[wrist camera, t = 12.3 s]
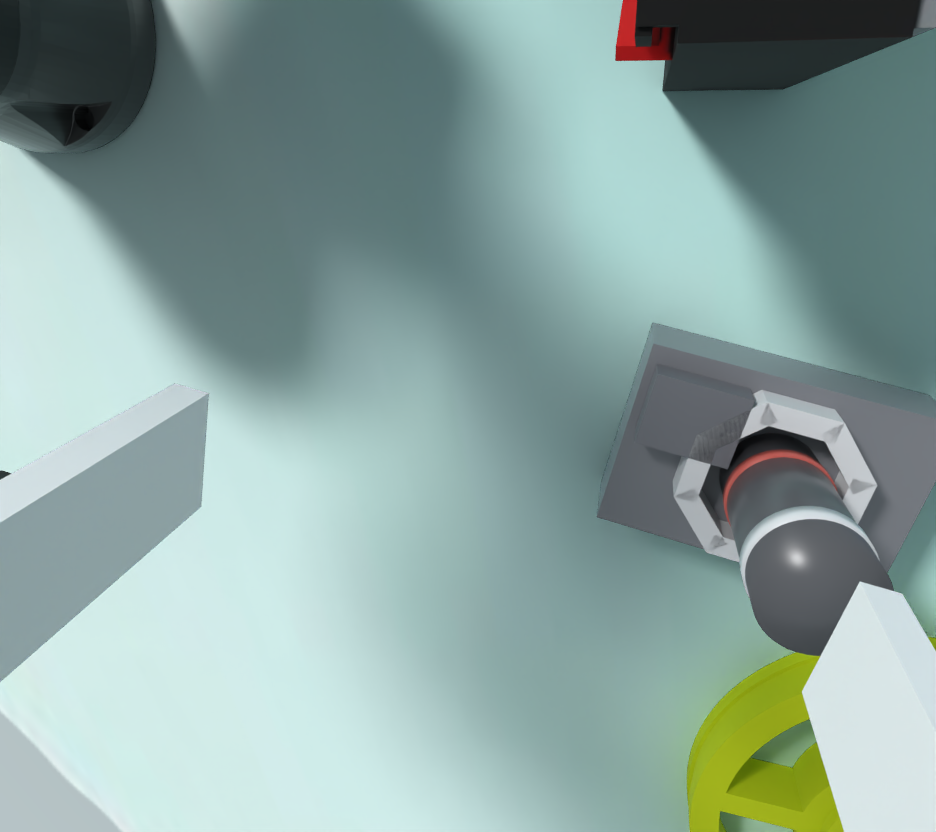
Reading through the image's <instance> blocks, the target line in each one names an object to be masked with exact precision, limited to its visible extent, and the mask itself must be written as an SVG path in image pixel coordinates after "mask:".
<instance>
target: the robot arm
mask: <svg viewBox="0 0 936 832" xmlns="http://www.w3.org/2000/svg"><path fill="white" fill-rule="evenodd" d="M154 61H155V26H154V17H153V12H152V6H151V2H150V0H0V141H2V142H5V143H7V144H10V145H12V146H15V147H18V148H21V149H25V150H30V151H34V152H42V153H78V152H85V151H89V150H93V149H96V148H99V147H101V146H103V145H105V144H107V143H109V142H110V141H112V140H113V139H115V138H116V137H117V136H119V135H120V134H121V133H122V132H123V131H124V130H125V129H126V128H127V127H128V126H129V125H130V123H131V122H132V121H133V119H134V118H135V117H136V115H137V113H138V112H139V110H140V108H141V106H142V104H143V102H144V100H145V98H146V95H147V92H148V89H149V86H150V83H151V79H152V74H153V69H154ZM208 397H209V393H206V392H203V391H199V390H196V389H192V388H189V387H186V386H182V385H179V384H175V383H174V384H173V385H171V386H169V387H167V388H165V389H164V390H162V391H160V392H158V393H156V394H155V395H153V396H151V397H149V398H147V399H146V400H144V401H142V402H140V403H138V404H136V405H135V406H133V407H131V408H129V409H127V410H126V411H124V412H122V413H120V414H118V415H117V416H115V417H113V418H111V419H109V420H108V421H106V422H104V423H102V424H100V425H98V426H97V427H95V428H93V429H91V430H89V431H88V432H86V433H84V434H82V435H80V436H79V437H77V438H75V439H73V440H71V441H70V442H68V443H66V444H64V445H62V446H61V447H59V448H57V449H55V450H53V451H51V452H50V453H48V454H46V455H44V456H42V457H41V458H39V459H37V460H35V461H33V462H32V463H30V464H28V465H26V466H24V467H23V468H21V469H19V470H17V471H15V472H13V473H8V472H5V471H0V682H1V681H2V680H3V679H4V678H5V677H6V676H8V675H9V674H10V673H11V672H12V671H13V670H14V669H16V668H17V667H18V666H19V665H20V664H21V663H23V662H24V661H25V660H26V659H27V658H28V657H29V656H31V655H32V654H33V653H34V652H35V651H36V650H37V649H39V648H40V647H41V646H42V645H43V644H44V643H45V642H47V641H48V640H49V639H50V638H51V637H52V636H53V635H55V634H56V633H57V632H58V631H59V630H60V629H61V628H63V627H64V626H65V625H66V624H67V623H68V622H69V621H71V620H72V619H73V618H74V617H75V616H76V615H78V614H79V613H80V612H81V611H82V610H83V609H84V608H86V607H87V606H88V605H89V604H90V603H91V602H92V601H94V600H95V599H96V598H97V597H98V596H99V595H100V594H102V593H103V592H104V591H105V590H106V589H107V588H108V587H110V586H111V585H112V584H113V583H114V582H115V581H116V580H118V579H119V578H120V577H121V576H122V575H123V574H124V573H126V572H127V571H128V570H129V569H130V568H131V567H133V566H134V565H135V564H136V563H137V562H138V561H139V560H141V559H142V558H143V557H144V556H145V555H146V554H147V553H149V552H150V551H151V550H152V549H153V548H154V547H155V546H157V545H158V544H159V543H160V542H161V541H162V540H163V539H165V538H166V537H167V536H168V535H169V534H170V533H171V532H173V531H174V530H175V529H176V528H177V527H178V526H179V525H181V524H182V523H183V522H184V521H185V520H186V519H188V518H189V517H190V516H191V515H192V514H193V513H194V512H196V511H197V510H198V509H199V508H200V507H201V501H202V487H203V472H204V457H205V442H206V427H207V412H208ZM802 694H803V698H804V701H805V704H806V708H807V711H808V714H809V718H810V721H811V724H812V727H813V731H814V734H815V737H816V741H817V744H818V747H819V751H820V754H821V757H822V761H823V764H824V767H825V770H826V774H827V777H828V780H829V784H830V787H831V790H832V794H833V797H834V800H835V804H836V807H837V810H838V813H839V817H840V820H841V823H842V827H843V830H844V832H936V651H935V649H934V647H933V646H932V644H931V642H930V640H929V639H928V637H927V635H926V634H925V632H924V630H923V628H922V627H921V625H920V623H919V622H918V620H917V618H916V616H915V615H914V613H913V611H912V610H911V608H910V606H909V604H908V603H907V601H906V599H905V598H904V596H903V594H902V593H898V592H895V591H891V590H888V589H884V588H881V587H877V586H874V585H870V584H867V583H864V582H859V584H858V586H857V588H856V590H855V591H854V593H853V595H852V597H851V599H850V601H849V603H848V605H847V607H846V609H845V610H844V612H843V614H842V616H841V618H840V620H839V622H838V624H837V626H836V628H835V630H834V631H833V633H832V635H831V637H830V639H829V641H828V643H827V645H826V647H825V649H824V650H823V652H822V654H821V656H820V658H819V660H818V662H817V664H816V666H815V668H814V669H813V671H812V673H811V675H810V677H809V679H808V681H807V683H806V685H805V687H804V689H803V690H802Z"/></svg>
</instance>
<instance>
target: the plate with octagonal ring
mask: <svg viewBox="0 0 936 832" xmlns="http://www.w3.org/2000/svg"><path fill="white" fill-rule="evenodd" d="M765 433H779V434H785V435H788V436H791V437H794V438H796V439H798V440H800V441H801V442H803V443H804V444H805V445H807V446H808V447H809V448H810V449H811V450H812V452H813V453H814V455H815V456H816V458H817V459H818V461H819V463H820V464H821V465H822V466H823V467H824V468H825V469H826V471H827V472H828V474H829V475H830V477H831V478H832V480H833V481H834V484H835V486H836V488H837V491H838V494H839V496H840V497H841V499H842V500H843V502H844V504H845V505H846V507H847V509H848V510H849V512H850V514H851V515H852V517H853V518H854V520H855V522H856V523H857V524H858V525H859V526H860V527H861V528H862V529H863V531H864V532H865V534H866V535H867V537H868V538H869V540H870V541H871V543H872V545H873V546H874V548H875V550H876V552H877V554H878V557H879V560H880V563H881V564H882V566H883V568H884V569H885V571H886V573H887V572H888V571H889V569H890V567H891V565H892V563H893V561H894V559H895V557H896V556H897V554H898V552H899V550H900V548H901V546H902V544H903V542H904V540H905V539H906V537H907V535H908V533H909V531H910V529H911V527H912V525H913V524H914V522H915V520H916V518H917V516H918V514H919V512H920V510H921V508H922V507H923V505H924V503H925V501H926V499H927V497H928V495H929V493H930V492H931V490H932V488H933V486H934V484H935V482H936V401H935V400H934V399H933V398H932V397H931V396H930V395H927V394H923V393H919V392H915V391H911V390H908V389H904V388H900V387H896V386H892V385H889V384H885V383H881V382H877V381H873V380H869V379H866V378H862V377H858V376H854V375H850V374H847V373H843V372H839V371H835V370H831V369H828V368H824V367H820V366H816V365H812V364H809V363H805V362H801V361H797V360H793V359H790V358H786V357H782V356H778V355H774V354H770V353H767V352H763V351H759V350H755V349H751V348H748V347H744V346H740V345H736V344H732V343H729V342H725V341H721V340H717V339H713V338H710V337H706V336H702V335H698V334H694V333H691V332H687V331H683V330H679V329H675V328H672V327H668V326H664V325H660V324H656V323H652V326H651V329H650V332H649V335H648V338H647V342H646V345H645V348H644V351H643V354H642V357H641V360H640V363H639V366H638V369H637V372H636V376H635V379H634V382H633V385H632V388H631V391H630V394H629V397H628V400H627V403H626V407H625V410H624V413H623V416H622V419H621V422H620V425H619V428H618V431H617V434H616V438H615V441H614V444H613V447H612V450H611V453H610V456H609V459H608V462H607V465H606V469H605V472H604V475H603V478H602V481H601V488H600V496H599V503H598V511H597V517H599V518H602V519H605V520H609V521H612V522H615V523H619V524H622V525H625V526H628V527H632V528H635V529H638V530H642V531H645V532H648V533H652V534H655V535H658V536H662V537H665V538H668V539H672V540H675V541H678V542H682V543H685V544H688V545H691V546H695V547H698V548H701V549H705V551H706V552H707V553H709V554H713V555H716V556H719V557H723V558H726V559H729V560H733V561H736V562H739V555H738V551H737V548H736V544H735V540H734V536H733V533H732V529H731V526H730V524H729V522H728V520H727V517H726V514H725V510H724V505H723V495H722V491H721V487H720V482H719V475H720V469H721V468H725V469H728V467H729V465H730V462H731V460H732V457H733V455H734V452H735V450H736V447H737V445H738V444H739V443H740V442H741V441H743V440H745V439H747V438H749V437H752V436H755V435H759V434H765Z"/></svg>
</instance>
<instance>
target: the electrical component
mask: <svg viewBox="0 0 936 832" xmlns="http://www.w3.org/2000/svg"><path fill="white" fill-rule="evenodd" d="M933 28H936V0H623V3H622V10H621V17H620V23H619V30H618V37H617V44H616V59H615V61H638V60H665V69H664V80H663V91H703V90H769V89H785V88H788V87H790V86H793V85H795V84H798V83H800V82H802V81H805V80H807V79H810V78H812V77H815V76H817V75H820V74H822V73H825V72H827V71H830V70H832V69H834V68H837V67H839V66H842V65H844V64H847V63H849V62H852V61H854V60H857V59H859V58H862V57H864V56H867V55H869V54H872V53H874V52H876V51H879V50H881V49H884V48H886V47H889V46H891V45H894V44H896V43H899V42H901V41H904V40H906V39H909V38H911V37H914V36H916V35H919V34H921V33H923V32H926V31H928V30H931V29H933Z"/></svg>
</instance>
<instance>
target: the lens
mask: <svg viewBox="0 0 936 832" xmlns="http://www.w3.org/2000/svg"><path fill="white" fill-rule="evenodd" d="M719 482H720V487H721V491H722V495H723V505H724V510H725V514H726V517H727V520H728V522H729V524H730V526H731V529H732V533H733V536H734V540H735V544H736V548H737V551H738V555H739V566H740V572H741V576H742V580H743V584H744V587H745V590H746V592H747V594H748V596H749V598H750V601H751V604H752V608H753V612H754V615H755V618H756V620H757V622H758V624H759V625H760V627H761V628H762V630H763V631H764V632H765V633H766V634H767V635H768V636H769V637H770V638H771V639H772V640H774V641H775V642H776V643H778V644H780V645H781V646H783V647H785V648H787V649H789V650H792V651H795V652H798V653H802V654H806V655H813V656H821V654H822V652H823V650H824V649H825V647H826V645H827V643H828V641H829V639H830V637H831V635H832V633H833V631H834V630H835V628H836V626H837V624H838V622H839V620H840V618H841V616H842V614H843V612H844V610H845V609H846V607H847V605H848V603H849V601H850V599H851V597H852V595H853V593H854V591H855V590H856V588H857V586H858V584H859V582H864V583H867V584H870V585H874V586H877V587H881V588H884V589H888V590H891V591H894V589H893V586H892V582H891V580H890V578H889V576H888V574H887V573H886V571H885V569H884V568H883V566H882V564H881V563H880V560H879V557H878V554H877V552H876V550H875V548H874V546H873V545H872V543H871V541H870V540H869V538H868V537H867V535H866V534H865V532H864V531H863V529H862V528H861V527H860V526H859V525H858V524H857V523H856V522H855V520H854V518H853V517H852V515H851V514H850V512H849V510H848V509H847V507H846V505H845V504H844V502H843V500H842V499H841V497H840V496H839V494H838V491H837V488H836V486H835V484H834V481H833V480H832V478H831V477H830V475H829V474H828V472H827V471H826V469H825V468H824V467H823V466H822V465H821V464H820V463H819V461H818V459H817V458H816V456H815V455H814V453H813V452H812V450H811V449H810V448H809V447H808V446H807V445H805V444H804V443H803V442H801V441H800V440H798V439H796V438H794V437H791V436H788V435H785V434H779V433H765V434H759V435H755V436H752V437H749V438H747V439H745V440H743V441H741V442H740V443H739V444H738V445H737V447H736V450H735V452H734V455H733V457H732V460H731V462H730V465H729V467H728V469H725V468H721V469H720V475H719Z"/></svg>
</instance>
